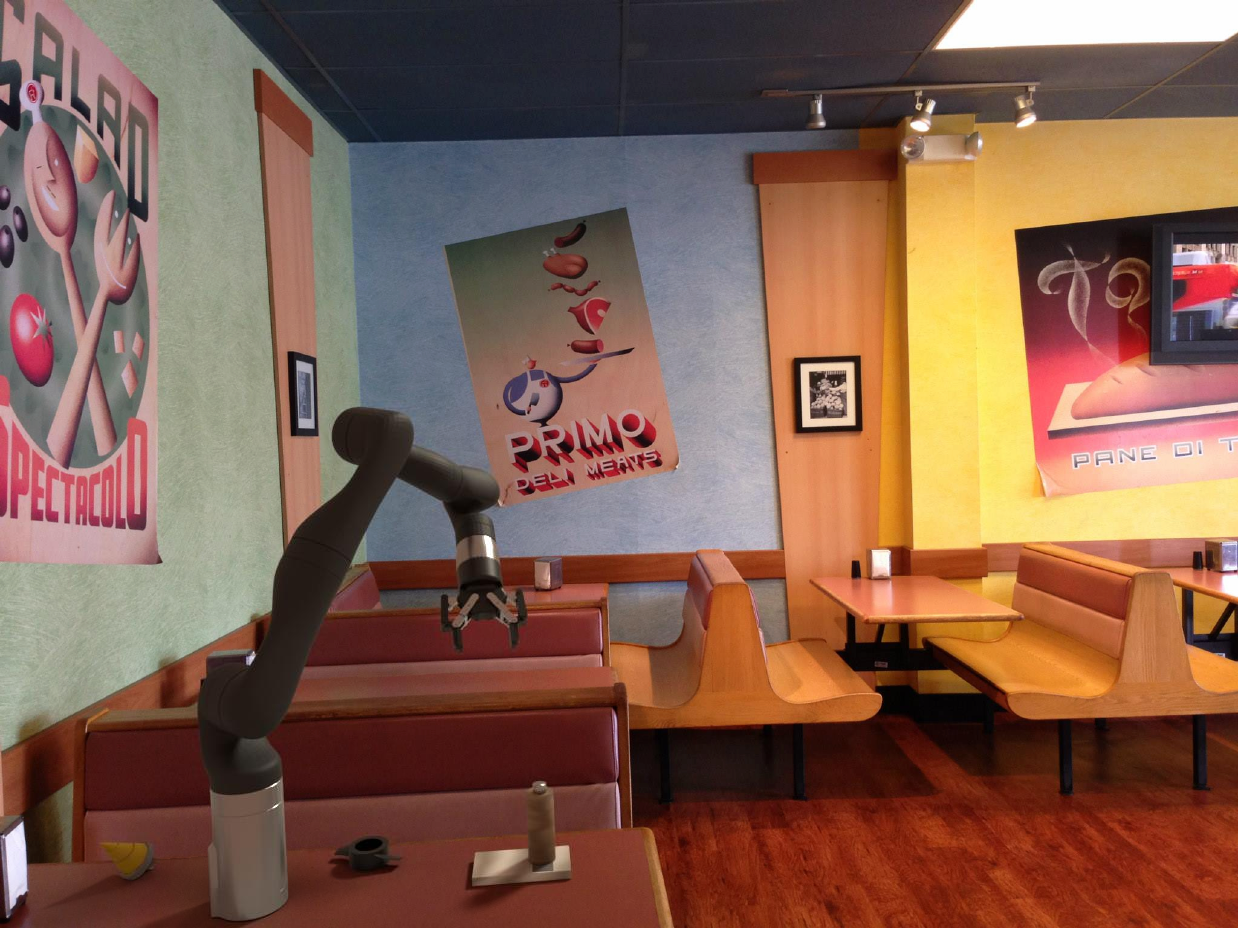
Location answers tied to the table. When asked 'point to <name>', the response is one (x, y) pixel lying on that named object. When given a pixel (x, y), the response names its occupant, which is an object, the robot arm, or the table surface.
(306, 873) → the table surface
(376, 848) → the black winged cup
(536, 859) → the wooden pepper mill
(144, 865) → the yellow party hat
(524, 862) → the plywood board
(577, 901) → the table surface
